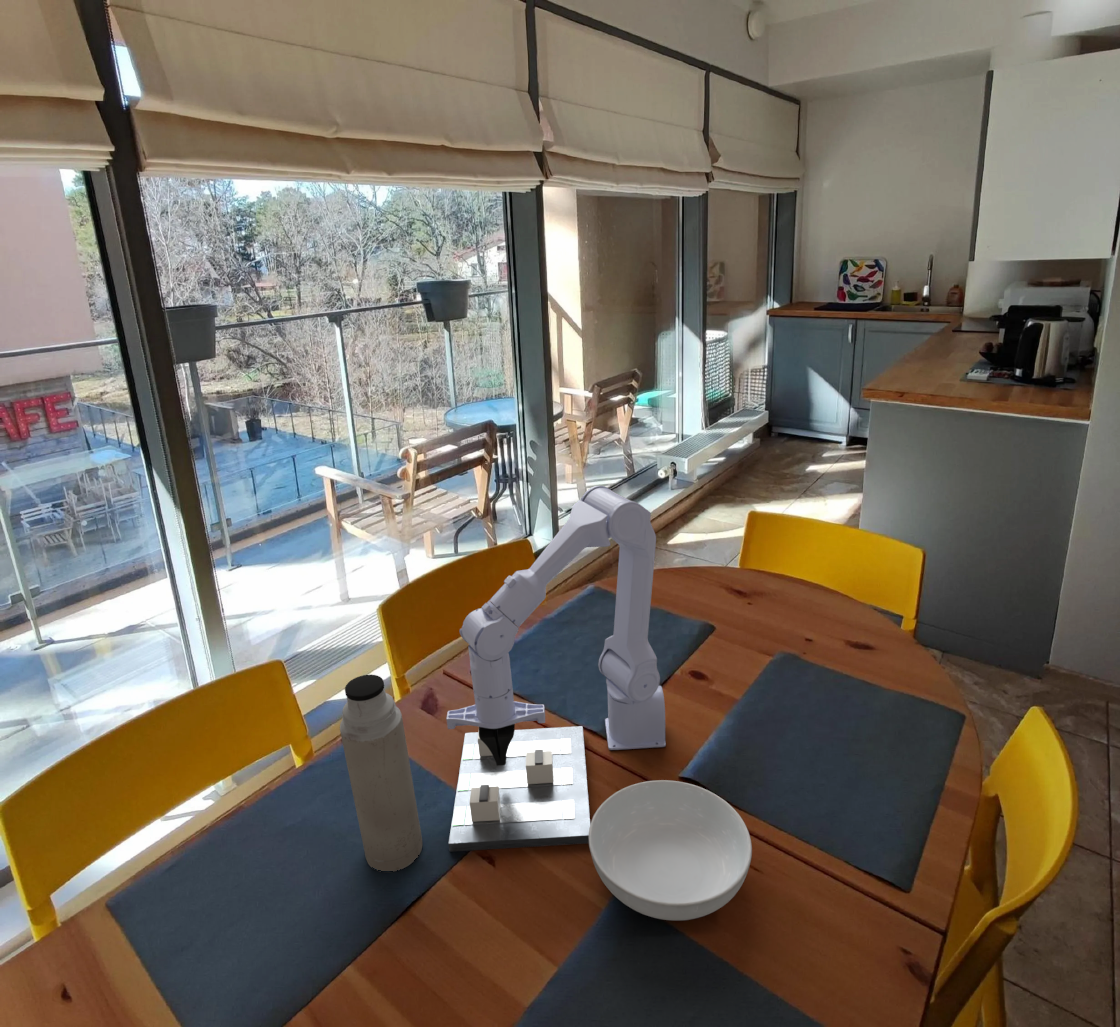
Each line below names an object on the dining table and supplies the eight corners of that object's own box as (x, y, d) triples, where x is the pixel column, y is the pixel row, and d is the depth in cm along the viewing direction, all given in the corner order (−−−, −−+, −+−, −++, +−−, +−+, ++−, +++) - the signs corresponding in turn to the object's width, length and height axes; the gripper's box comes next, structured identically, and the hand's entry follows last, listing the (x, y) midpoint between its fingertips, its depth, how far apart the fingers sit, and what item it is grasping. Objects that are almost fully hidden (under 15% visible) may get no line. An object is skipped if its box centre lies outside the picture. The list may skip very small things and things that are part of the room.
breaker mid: (553, 769, 116) (551, 748, 115) (553, 782, 113) (551, 762, 112) (527, 770, 116) (525, 750, 115) (527, 784, 113) (525, 763, 112)
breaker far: (505, 742, 123) (503, 723, 121) (504, 754, 120) (502, 735, 119) (481, 744, 123) (478, 724, 121) (479, 756, 120) (477, 736, 119)
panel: (582, 733, 127) (582, 725, 126) (591, 843, 104) (591, 834, 104) (466, 740, 127) (465, 732, 126) (449, 851, 104) (448, 842, 104)
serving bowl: (715, 976, 85) (717, 933, 83) (561, 900, 96) (558, 860, 93) (770, 850, 102) (773, 811, 99) (633, 797, 112) (632, 761, 110)
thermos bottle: (384, 823, 110) (355, 662, 100) (432, 834, 108) (407, 670, 97) (354, 865, 103) (319, 697, 93) (404, 878, 101) (374, 707, 90)
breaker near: (500, 804, 110) (498, 784, 108) (499, 820, 107) (497, 798, 106) (473, 806, 110) (471, 785, 108) (471, 821, 107) (469, 800, 106)
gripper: (542, 667, 112) (548, 740, 117) (446, 674, 112) (457, 746, 117) (542, 696, 106) (548, 771, 111) (440, 702, 106) (451, 778, 111)
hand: (501, 761), depth 114 cm, fingers closed
